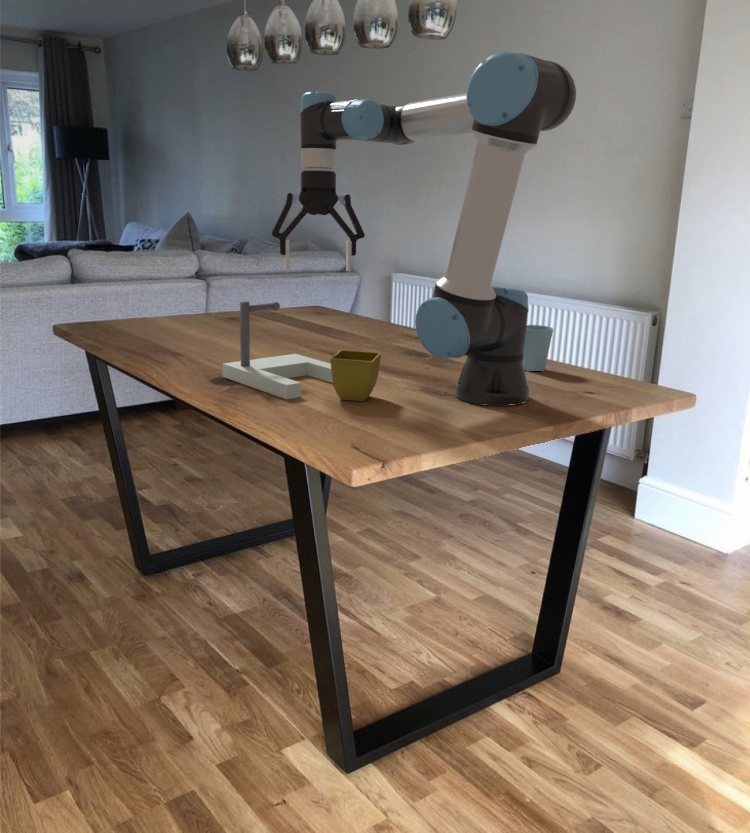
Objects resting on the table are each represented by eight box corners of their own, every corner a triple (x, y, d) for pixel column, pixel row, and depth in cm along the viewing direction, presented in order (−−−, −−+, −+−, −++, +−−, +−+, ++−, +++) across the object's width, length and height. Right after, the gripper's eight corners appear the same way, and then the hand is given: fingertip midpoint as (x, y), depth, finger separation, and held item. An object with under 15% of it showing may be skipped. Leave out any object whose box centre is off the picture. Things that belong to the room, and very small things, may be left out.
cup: (537, 374, 191) (541, 331, 188) (511, 369, 196) (514, 326, 193) (555, 370, 196) (559, 328, 193) (529, 365, 201) (532, 323, 198)
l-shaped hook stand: (361, 386, 174) (364, 307, 169) (286, 399, 161) (287, 315, 156) (295, 366, 191) (296, 294, 186) (222, 376, 178) (221, 300, 173)
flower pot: (371, 405, 159) (373, 360, 156) (328, 401, 160) (329, 357, 158) (380, 395, 167) (381, 352, 165) (339, 391, 169) (340, 349, 166)
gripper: (372, 172, 178) (370, 269, 183) (258, 169, 173) (260, 268, 179) (378, 171, 171) (376, 272, 176) (260, 168, 166) (261, 271, 172)
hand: (318, 270), depth 177 cm, fingers open, 13 cm apart
